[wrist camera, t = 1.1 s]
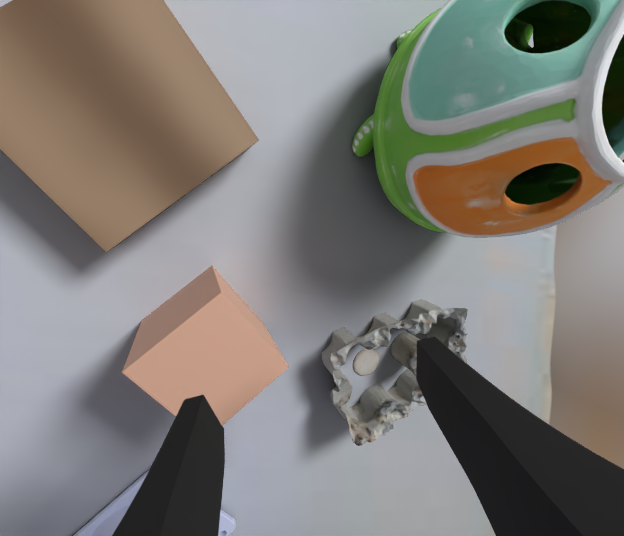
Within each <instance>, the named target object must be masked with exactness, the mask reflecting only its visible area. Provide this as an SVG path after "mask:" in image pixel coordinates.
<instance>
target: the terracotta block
mask: <svg viewBox="0 0 624 536" xmlns="http://www.w3.org/2000/svg"><path fill="white" fill-rule="evenodd" d="M288 367H289V366H288V364H287V363H286V361H285V359H284V358H283V356H282V354H281V353H280V351H279V349H278V347H277V346H276V344H275V342H274V341H273V339H272V337H271V335H270V334H269V332H268V330H267V329H266V327H265V325H264V324H263V322H262V321H261V320H260V319H259V318H258V317H257V315H256V314H255V313H254V312H253V311H252V310H251V309H250V308H249V306H248V305H247V304H246V303H245V302H244V301H243V300H242V299H241V297H240V296H239V295H238V294H237V293H236V292H235V291H234V289H233V288H232V287H231V286H230V285H229V284H228V283H227V282H226V280H225V279H224V278H223V277H222V276H221V275H220V274H219V273H218V271H217V270H216V269H215V268H214V267H213V266H211V267H210V268H208V269H207V270H206V271H204V272H203V273H202V274H201V275H199V276H198V277H197V278H196V279H194V280H193V281H192V282H190V283H189V284H188V285H187V286H185V287H184V288H183V289H181V290H180V291H179V292H178V293H176V294H175V295H174V296H173V297H171V298H170V299H169V300H167V301H166V302H165V303H164V304H162V305H161V306H160V307H159V308H157V309H156V310H155V311H153V312H152V313H151V314H150V315H148V316H147V317H146V318H144V319H143V320H142V321H141V324H140V326H139V329H138V332H137V334H136V337H135V339H134V342H133V344H132V347H131V350H130V352H129V355H128V357H127V360H126V363H125V365H124V368H123V370H122V373H123V374H124V375H126V376H127V377H128V378H129V379H131V380H132V381H133V382H134V383H135V384H137V385H138V386H139V387H140V388H142V389H143V390H144V391H145V392H146V393H148V394H149V395H150V396H151V397H153V398H154V399H155V400H156V401H157V402H159V403H160V404H161V405H162V406H164V407H165V408H166V409H167V410H168V411H170V412H171V413H172V414H173V415H174V416H177V414H178V411H179V409H180V407H181V405H182V403H183V401H184V400H185V399H188V398H192V397H196V396H200V395H204V396H205V398H206V400H207V401H208V403H209V405H210V406H211V408H212V410H213V411H214V413H215V415H216V417H217V418H218V420H219V422H220V423H221V425H224V424H225V423H226V422H227V421H228V420H229V419H230V418H232V417H233V416H234V415H235V414H236V413H237V412H238V411H239V410H241V409H242V408H243V407H244V406H245V405H246V404H247V403H249V402H250V401H251V400H252V399H253V398H254V397H255V396H257V395H258V394H259V393H260V392H261V391H262V390H263V389H264V388H266V387H267V386H268V385H269V384H270V383H271V382H272V381H274V380H275V379H276V378H277V377H278V376H279V375H280V374H282V373H283V372H284V371H285V370H286V369H287V368H288Z"/></svg>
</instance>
